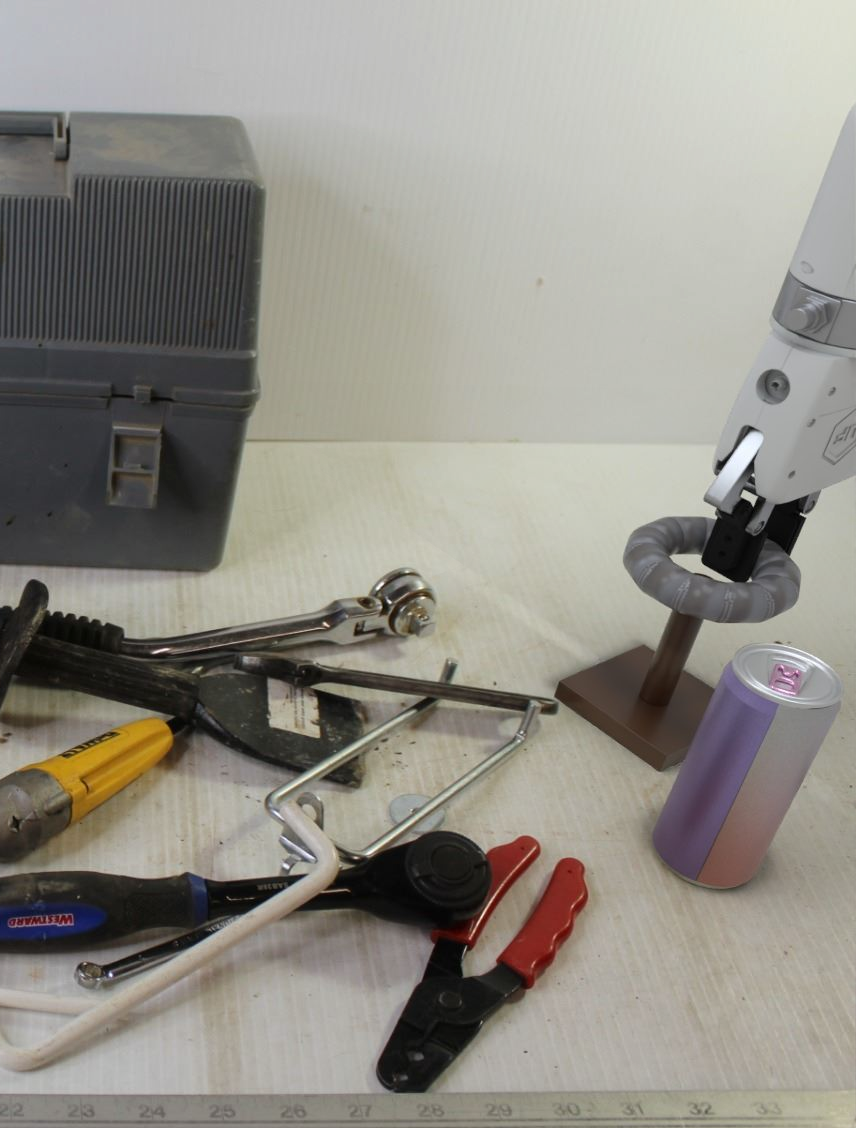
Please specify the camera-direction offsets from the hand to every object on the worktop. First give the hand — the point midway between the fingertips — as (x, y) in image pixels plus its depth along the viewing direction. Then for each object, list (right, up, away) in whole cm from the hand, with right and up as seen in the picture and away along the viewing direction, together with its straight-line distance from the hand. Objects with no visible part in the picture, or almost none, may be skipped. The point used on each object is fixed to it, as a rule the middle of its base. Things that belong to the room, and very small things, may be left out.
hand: (742, 563), depth 90 cm
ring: (-3, 0, -2) cm, 4 cm away
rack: (-4, -11, +5) cm, 12 cm away
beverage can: (-6, -19, -6) cm, 21 cm away
